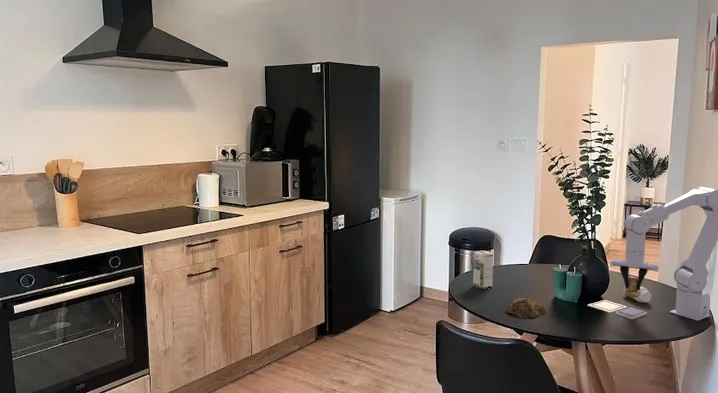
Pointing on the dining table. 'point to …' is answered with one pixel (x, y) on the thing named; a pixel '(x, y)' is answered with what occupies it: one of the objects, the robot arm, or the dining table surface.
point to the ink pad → (631, 313)
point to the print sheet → (607, 306)
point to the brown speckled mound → (525, 308)
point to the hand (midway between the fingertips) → (632, 288)
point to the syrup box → (483, 268)
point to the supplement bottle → (642, 295)
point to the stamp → (632, 287)
